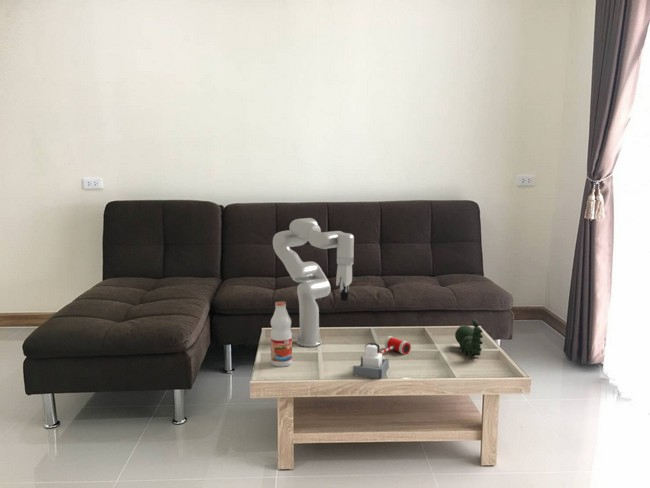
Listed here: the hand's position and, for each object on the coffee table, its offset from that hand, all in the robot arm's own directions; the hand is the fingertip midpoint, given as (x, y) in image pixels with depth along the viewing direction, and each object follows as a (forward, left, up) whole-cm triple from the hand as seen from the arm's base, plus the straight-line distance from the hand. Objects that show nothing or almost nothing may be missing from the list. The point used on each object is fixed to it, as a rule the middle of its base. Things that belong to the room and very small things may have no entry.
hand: (344, 300), depth 268 cm
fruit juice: (-24, -18, -27) cm, 40 cm away
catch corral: (+16, -16, -27) cm, 35 cm away
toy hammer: (+19, +9, -27) cm, 34 cm away
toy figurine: (+54, +23, -27) cm, 64 cm away
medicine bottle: (+17, -16, -27) cm, 35 cm away
